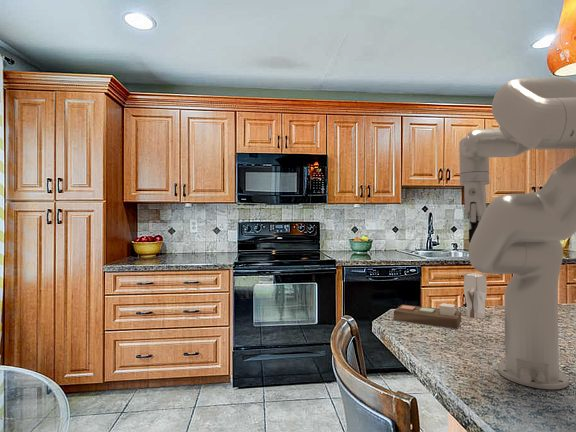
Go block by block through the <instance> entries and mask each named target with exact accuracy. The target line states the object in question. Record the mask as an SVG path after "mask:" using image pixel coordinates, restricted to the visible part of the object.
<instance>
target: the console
mask: <svg viewBox="0 0 576 432" xmlns="http://www.w3.org/2000/svg"><path fill="white" fill-rule="evenodd" d="M403 305H405V306H410V305H408V304H401V305H399V306H398V307H397V308H395V309H394V310H393V321H397V322H403V323H404V322H406V323H413V324H418V325H427V326H433V327H441V328H446V329H447V328H448V329H454V330H458V328H459V326H460V324H461V322H462V311H459V310H455V316H448V315H440V308H434V307H429V308H430V309H435V312H434V313H433V314H432V313H424V312H419V310H420V309H421V308H427V307H424V306H417V305H412V306H413V307H415V310H414V311H407V310H400V308H401V307H402V306H403Z"/></svg>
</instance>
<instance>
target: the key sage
mask: <svg viewBox="0 0 576 432" xmlns="http://www.w3.org/2000/svg"><path fill="white" fill-rule="evenodd" d="M430 308H431V307H426V308H421V309H420V310H419V312H424V313H432V314H433V313H434V312H435V309H436V308H435V309H430Z"/></svg>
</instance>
